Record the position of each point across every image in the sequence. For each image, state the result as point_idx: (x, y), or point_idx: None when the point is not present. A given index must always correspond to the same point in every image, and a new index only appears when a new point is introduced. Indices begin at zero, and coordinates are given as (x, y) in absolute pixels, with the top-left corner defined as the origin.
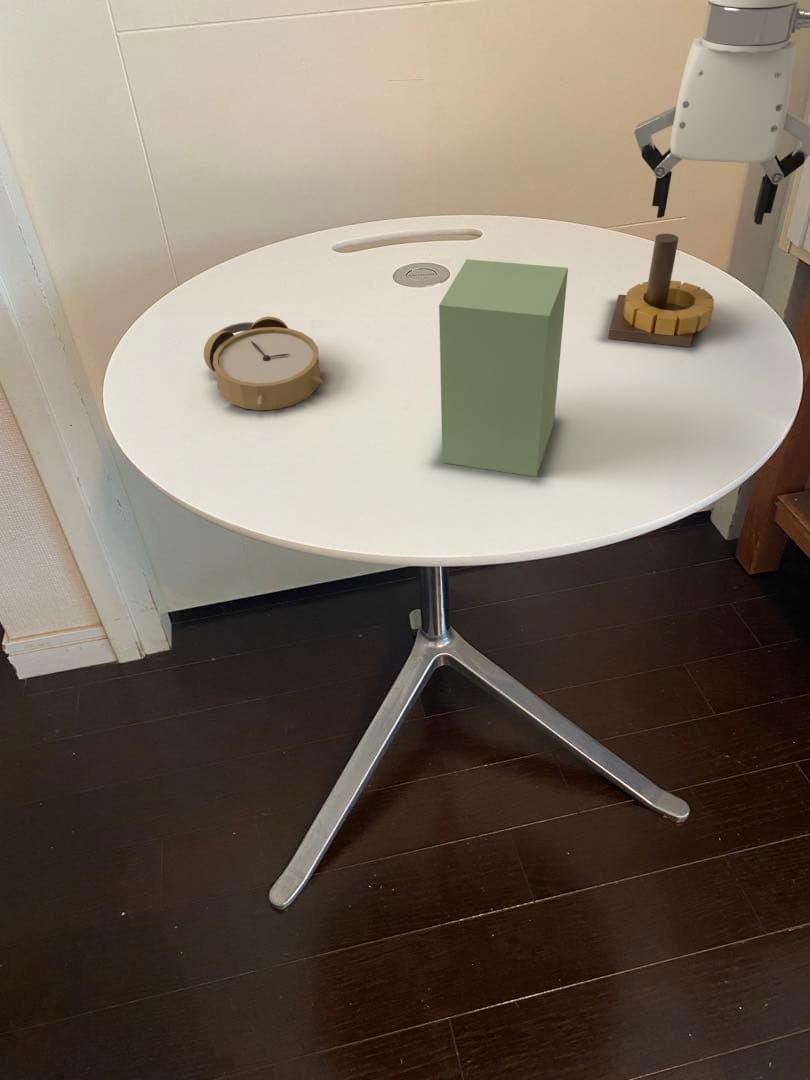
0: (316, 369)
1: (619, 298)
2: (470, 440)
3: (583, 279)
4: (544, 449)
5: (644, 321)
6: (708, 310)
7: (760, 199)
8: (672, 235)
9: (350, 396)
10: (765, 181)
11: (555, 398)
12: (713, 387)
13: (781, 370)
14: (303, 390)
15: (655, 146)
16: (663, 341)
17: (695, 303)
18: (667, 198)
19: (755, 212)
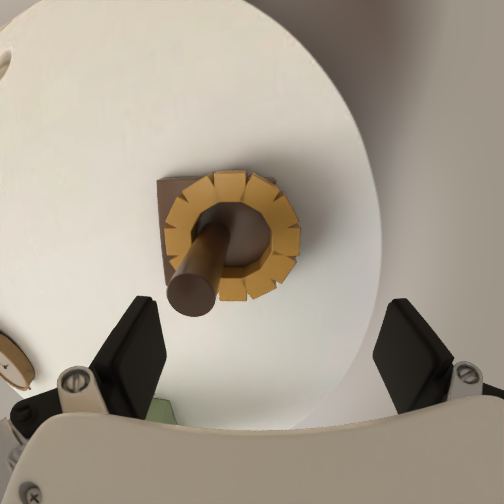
0: (23, 368)
1: (159, 194)
2: None
3: (108, 115)
4: (175, 424)
5: None
6: (291, 269)
7: (390, 394)
8: (200, 283)
9: (47, 371)
10: (418, 398)
11: (164, 421)
12: (293, 349)
13: (364, 307)
14: (31, 376)
15: (36, 429)
16: None
17: (272, 250)
18: (148, 314)
19: (385, 336)
